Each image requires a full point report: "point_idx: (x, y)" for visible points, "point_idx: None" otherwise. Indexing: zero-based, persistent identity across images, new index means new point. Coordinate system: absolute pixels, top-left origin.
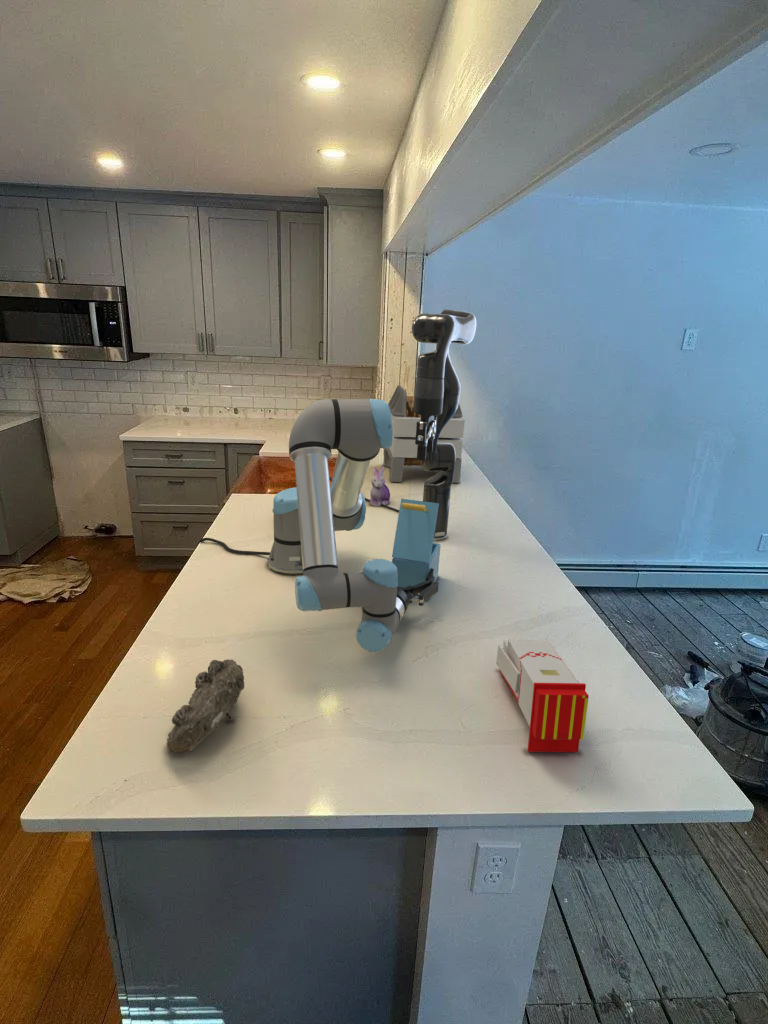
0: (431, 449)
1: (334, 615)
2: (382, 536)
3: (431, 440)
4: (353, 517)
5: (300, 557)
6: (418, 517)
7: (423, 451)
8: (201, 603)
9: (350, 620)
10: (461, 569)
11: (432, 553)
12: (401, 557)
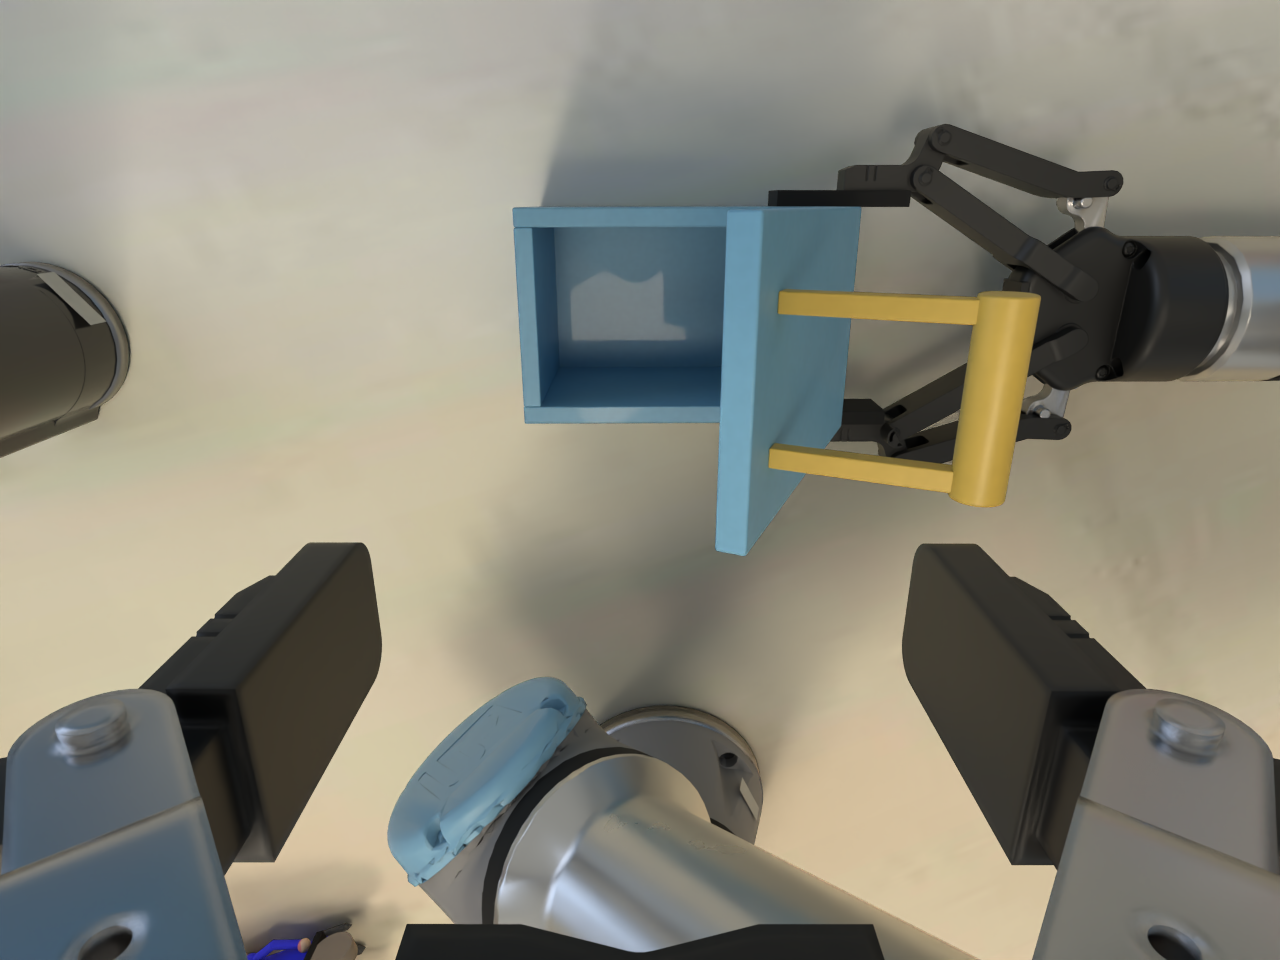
0: (335, 577)
1: (1013, 522)
2: (217, 573)
3: (243, 712)
4: (624, 745)
5: (724, 785)
6: (792, 356)
7: (1110, 658)
8: (1020, 895)
9: (1038, 458)
10: (397, 97)
11: (679, 224)
12: (844, 375)
